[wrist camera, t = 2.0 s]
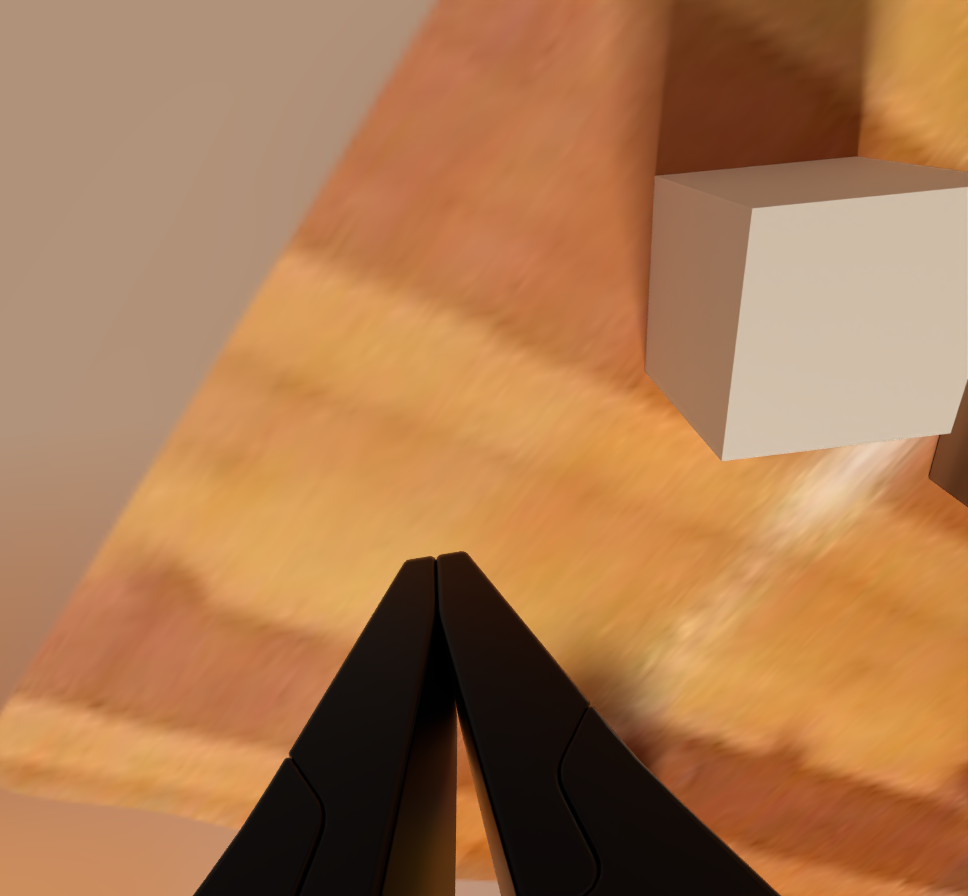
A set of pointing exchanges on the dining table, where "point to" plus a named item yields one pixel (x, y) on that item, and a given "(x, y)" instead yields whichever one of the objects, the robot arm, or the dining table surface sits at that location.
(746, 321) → the plain white cube
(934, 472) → the stop board
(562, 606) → the dining table surface
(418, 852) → the robot arm
